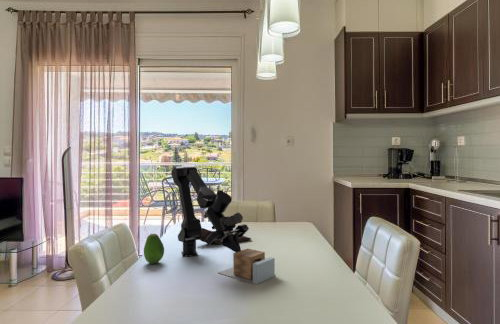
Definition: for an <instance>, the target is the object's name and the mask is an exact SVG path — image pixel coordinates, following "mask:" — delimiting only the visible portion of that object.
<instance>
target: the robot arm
mask: <svg viewBox="0 0 500 324" xmlns="http://www.w3.org/2000/svg"><path fill="white" fill-rule="evenodd" d="M170 173H171V174H170V175H171V178H172V180H173V183H174V184H175V185H176V186H177V188H178V192H179V193H178V194H179V199H180V205H181V211H182V216H183V219H182V222H181V224H180V231H179V232H178V234H177V241H178V242H181V243H182V251H181V252H180V253H181V255H182V257H191V256H192V257H193V256H198V255H199V253H198V251H197V241H198V240H199V241H201V240H200V239H201V233H202V228H203V227H202V225H201V219H200V218H197V217H196V215H195V210H194V205H193V200H192V194H191V188H190V185H191V187H192V188H193V190H194V191H195V193H196V201H197V202H196V203H197V205H198V206H199V208H200V209H206V210H205V211H204V214H203V218H204V219H208V220H209V221H210V223H211V225H212V226H211V229H212V231H213V232H211V234H210V235H209V236H208V237H207V239H206V242H205V243H206V245H207V247H212V246H215V245H216V244H215V241H214V240H218V239H221V241H222V242H221V243H220V244H219V245H220V246H224V247H225V248H227V249H229V250H231V251H233V253H236V252H239V251H242V249H241V246H240V241H239V239H238V238H241V237H242V236H245V234H246V233H247V232H248V230H249V229H250V228H249V225H248V224H245V223H244V224H243V223H242V221H243V220H244V217H243V215H242V213H240V212H236V213H234V214H233V215H230V216H226V215H224V212H226V210H228V208H229V206H230V205H231V203H232V201H233V198H232V196H231V195H229V194H228V193H227V192H224V190H223V189H221V190H220V189H219V190H217V192H215V191H214V190H213V189H211V188H209V187H208V186H207V185H206V183H205V181H204V180H203V178H202V177H201V175H200V174H199V172H198V168H197V167H196V166H174V167H173V169H171V172H170ZM241 223H242V224H241ZM238 224H239V225H238Z"/></svg>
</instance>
